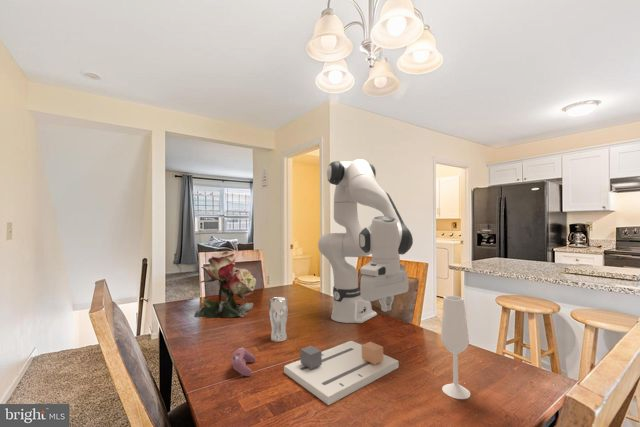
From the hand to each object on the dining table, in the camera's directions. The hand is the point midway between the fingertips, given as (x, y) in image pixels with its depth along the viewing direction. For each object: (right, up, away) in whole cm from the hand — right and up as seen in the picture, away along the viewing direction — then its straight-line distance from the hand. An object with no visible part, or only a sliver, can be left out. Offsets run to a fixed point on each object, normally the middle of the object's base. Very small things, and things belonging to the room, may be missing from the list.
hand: (386, 310), depth 93 cm
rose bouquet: (-67, -19, +56) cm, 90 cm away
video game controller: (-44, -17, -4) cm, 48 cm away
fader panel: (-15, -16, -6) cm, 22 cm away
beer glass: (-37, -17, +18) cm, 45 cm away
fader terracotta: (-5, -14, -5) cm, 15 cm away
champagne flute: (+14, -15, -17) cm, 27 cm away
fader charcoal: (-24, -14, -7) cm, 28 cm away
